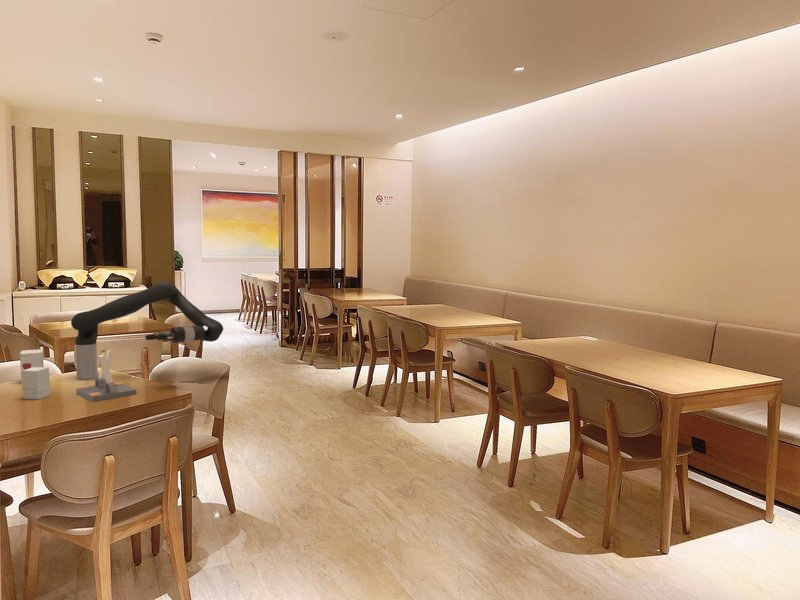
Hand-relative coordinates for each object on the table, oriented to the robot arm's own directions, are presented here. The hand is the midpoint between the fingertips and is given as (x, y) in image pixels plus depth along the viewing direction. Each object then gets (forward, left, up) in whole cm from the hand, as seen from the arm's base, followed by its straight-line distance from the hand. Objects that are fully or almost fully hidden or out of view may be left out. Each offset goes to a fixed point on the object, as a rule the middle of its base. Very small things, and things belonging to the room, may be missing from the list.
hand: (146, 337), depth 251 cm
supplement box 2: (-21, -39, -25) cm, 50 cm away
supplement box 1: (-55, -32, -25) cm, 68 cm away
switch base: (-6, -16, -24) cm, 30 cm away
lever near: (0, -16, -21) cm, 26 cm away
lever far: (-12, -16, -20) cm, 29 cm away
